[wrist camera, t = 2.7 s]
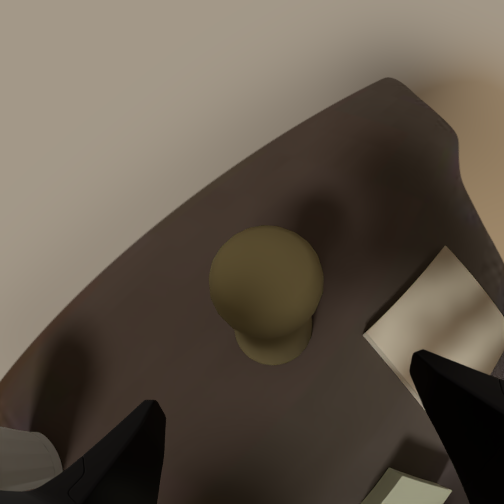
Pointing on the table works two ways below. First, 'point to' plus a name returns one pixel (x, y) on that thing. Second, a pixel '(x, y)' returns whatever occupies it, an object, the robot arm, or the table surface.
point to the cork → (267, 291)
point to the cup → (26, 460)
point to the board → (440, 321)
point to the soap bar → (406, 490)
